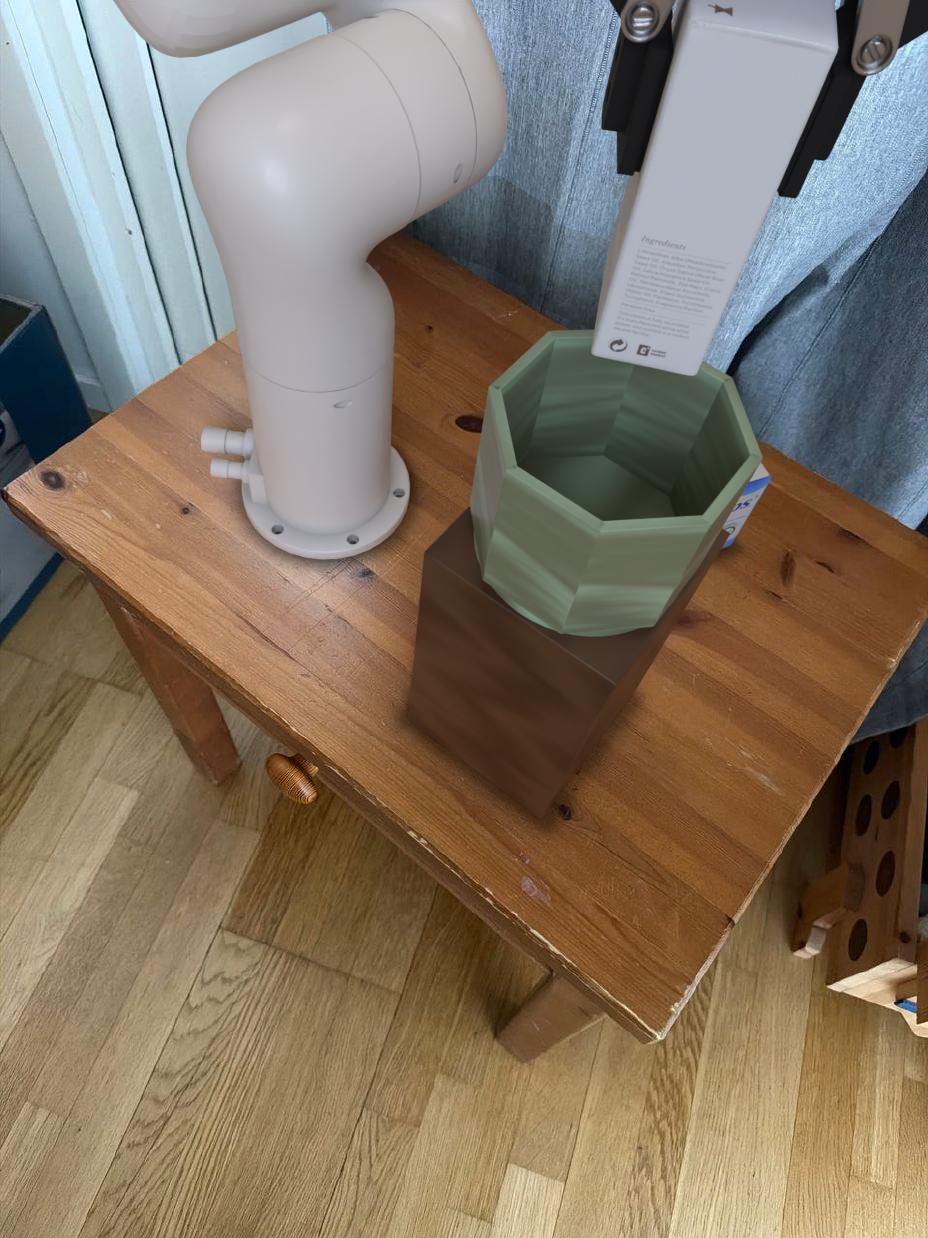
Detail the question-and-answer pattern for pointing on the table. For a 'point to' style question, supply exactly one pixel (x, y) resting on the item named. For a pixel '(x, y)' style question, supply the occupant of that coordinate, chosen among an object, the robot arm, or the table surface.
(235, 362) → the table surface
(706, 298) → the cosmetic box
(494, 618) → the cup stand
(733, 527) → the medicine box
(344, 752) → the table surface
